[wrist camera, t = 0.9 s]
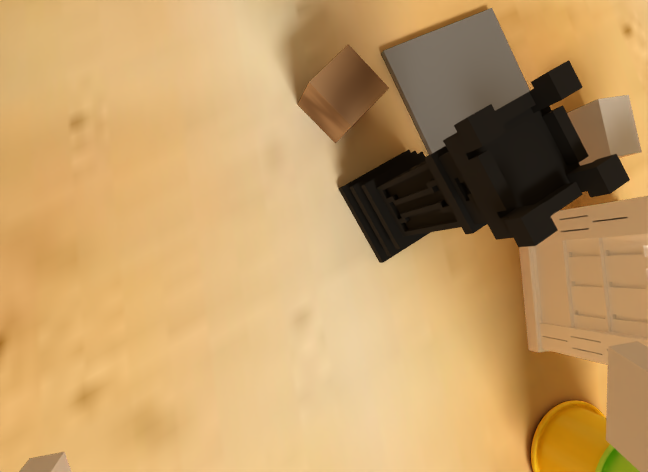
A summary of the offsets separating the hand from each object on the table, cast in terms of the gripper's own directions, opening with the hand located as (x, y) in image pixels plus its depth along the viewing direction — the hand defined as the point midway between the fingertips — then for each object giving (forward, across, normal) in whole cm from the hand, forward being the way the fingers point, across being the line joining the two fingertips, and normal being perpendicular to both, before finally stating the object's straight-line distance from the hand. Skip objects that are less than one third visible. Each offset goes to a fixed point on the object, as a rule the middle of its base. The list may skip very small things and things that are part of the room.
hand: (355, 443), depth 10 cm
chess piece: (+31, +9, -1) cm, 32 cm away
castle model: (+32, +29, -12) cm, 45 cm away
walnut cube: (+33, +5, +9) cm, 35 cm away
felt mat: (+36, +19, +9) cm, 42 cm away
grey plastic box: (+37, +32, +2) cm, 49 cm away
